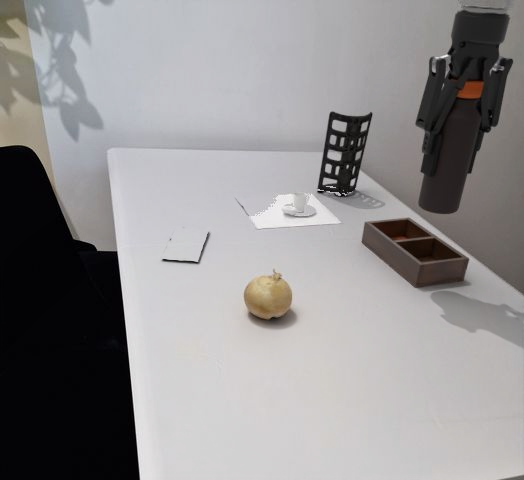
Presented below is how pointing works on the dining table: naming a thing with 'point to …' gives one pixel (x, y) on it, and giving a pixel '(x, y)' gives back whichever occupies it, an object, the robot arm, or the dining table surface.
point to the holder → (344, 152)
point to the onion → (268, 296)
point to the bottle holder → (414, 252)
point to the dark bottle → (453, 153)
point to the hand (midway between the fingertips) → (445, 172)
